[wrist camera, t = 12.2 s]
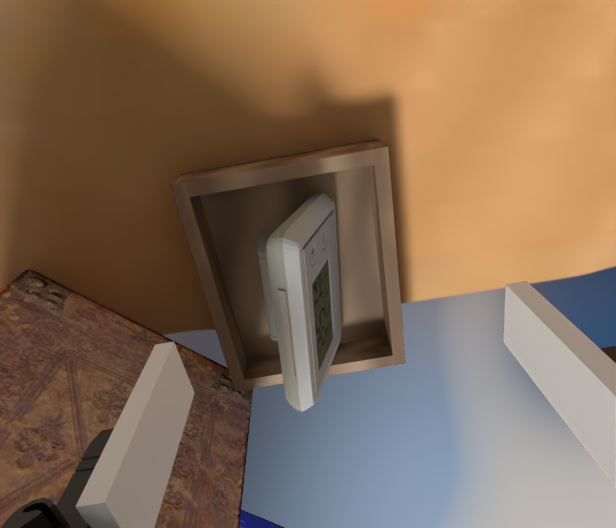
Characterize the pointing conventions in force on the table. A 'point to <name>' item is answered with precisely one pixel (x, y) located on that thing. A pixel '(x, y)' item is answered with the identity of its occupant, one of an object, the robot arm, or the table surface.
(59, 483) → the book
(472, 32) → the table surface
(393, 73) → the table surface
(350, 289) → the brown rectangular tray
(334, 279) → the digital clock
